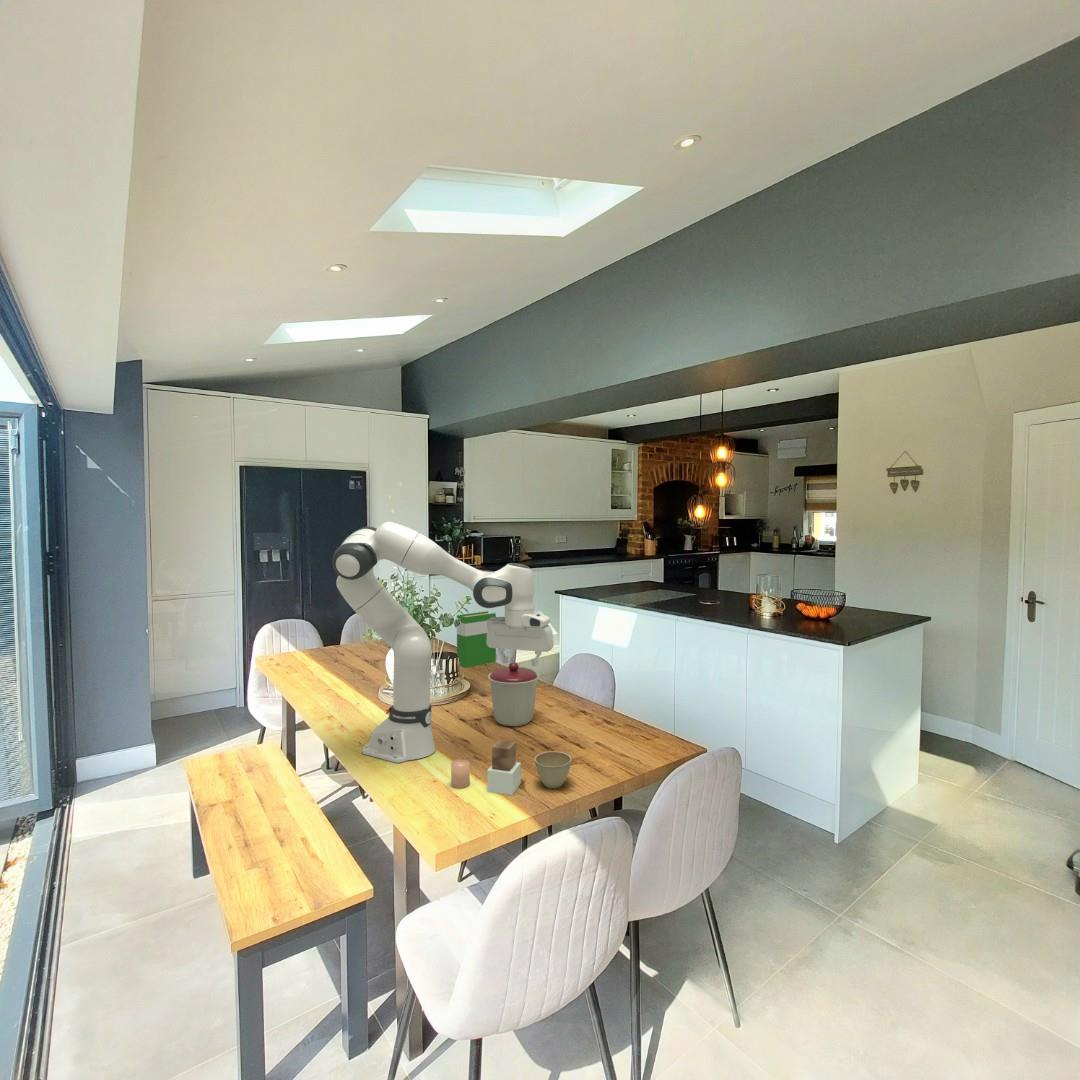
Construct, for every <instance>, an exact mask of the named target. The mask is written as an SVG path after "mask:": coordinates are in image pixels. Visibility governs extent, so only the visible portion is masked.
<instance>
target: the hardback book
mask: <svg viewBox="0 0 1080 1080" xmlns="http://www.w3.org/2000/svg"><path fill="white" fill-rule="evenodd" d="M493 616H495V617H497V615H496V612H494V613H493V612H492V613H489V611H488V610H487V611H480V612H473V613H464V614H457V615H456V619H457V618H459V617H461V623H460V625H459V626H457V625H456V657H457V656H458V658H459V661H460V667H462V668H465V669H467V668H471V667H476V666H477V667H478V666H481V665H486V664H491V663H496V662H497V648H489V647H488V646H487V644H486V641H487V632H488V629H487V621H488V619H489V618H491V617H493ZM490 620H491V619H490Z"/></svg>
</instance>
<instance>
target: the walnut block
mask: <svg viewBox="0 0 1080 1080" xmlns="http://www.w3.org/2000/svg"><path fill="white" fill-rule="evenodd" d="M516 762H517V742H516V741H508V740H501V739H498V740H497V741H496V742H495V743H494V744H493V746H492V747H491V765H492V769H495V770H502V771H509V772H510V771H511V769H512V768H513V767H514V766H515V764H516Z"/></svg>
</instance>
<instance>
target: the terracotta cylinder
mask: <svg viewBox="0 0 1080 1080" xmlns="http://www.w3.org/2000/svg"><path fill="white" fill-rule="evenodd" d="M470 766H471V765H470V761H469V760H467V759H464V758H462V759H461V758H459V759H455V760H453V761H451V763H450V775H451V776H450V781H451V782H450V786H451V787H452V788H453V789H456V790H457V789H458V790H463V789H466V788H469V786H470V784H471V782H470V770H471V769H470Z"/></svg>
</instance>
